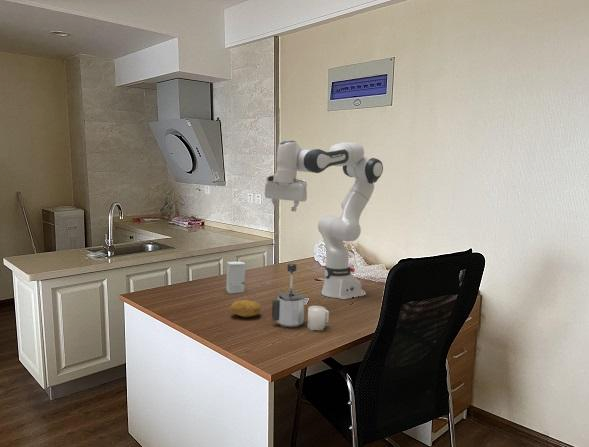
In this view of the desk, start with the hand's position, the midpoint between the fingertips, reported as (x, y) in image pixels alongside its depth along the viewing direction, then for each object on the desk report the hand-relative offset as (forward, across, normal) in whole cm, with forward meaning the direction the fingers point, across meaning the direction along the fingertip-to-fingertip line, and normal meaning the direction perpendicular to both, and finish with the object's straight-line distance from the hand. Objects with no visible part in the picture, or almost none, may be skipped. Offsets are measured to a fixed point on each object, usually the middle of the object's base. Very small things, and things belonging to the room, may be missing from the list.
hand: (284, 210), depth 192 cm
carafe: (+44, -13, +14) cm, 48 cm away
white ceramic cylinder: (+44, -25, +11) cm, 52 cm away
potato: (+45, +5, +18) cm, 49 cm away
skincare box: (+44, +32, -7) cm, 55 cm away
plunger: (+35, -14, +13) cm, 40 cm away
